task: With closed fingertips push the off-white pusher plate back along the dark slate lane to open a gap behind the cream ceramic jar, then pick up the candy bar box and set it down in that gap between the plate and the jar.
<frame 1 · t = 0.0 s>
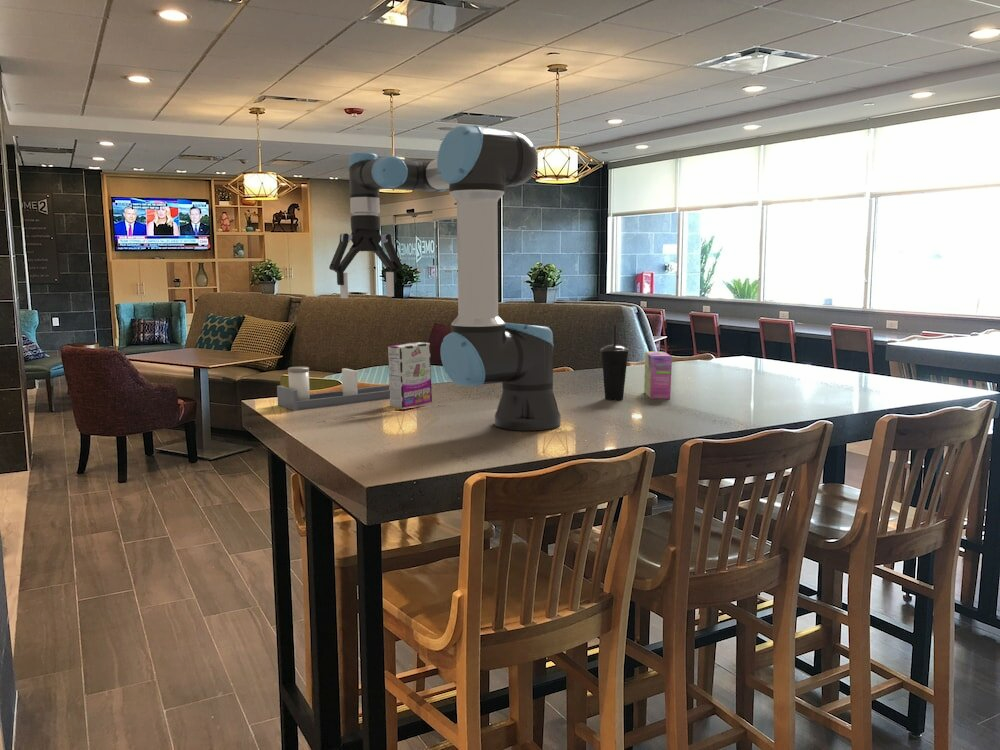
hand: (367, 297, 208), 28 cm above the table, fingers open, 13 cm apart
pusher: (354, 384, 210), point 5 cm above the table, slide at 0.0 cm
drinking cup: (614, 399, 215), on the table
box: (657, 396, 220), on the table
jar: (300, 406, 201), point 1 cm above the table, touching lane
lane: (324, 406, 206), on the table
candy bar box: (410, 408, 204), on the table
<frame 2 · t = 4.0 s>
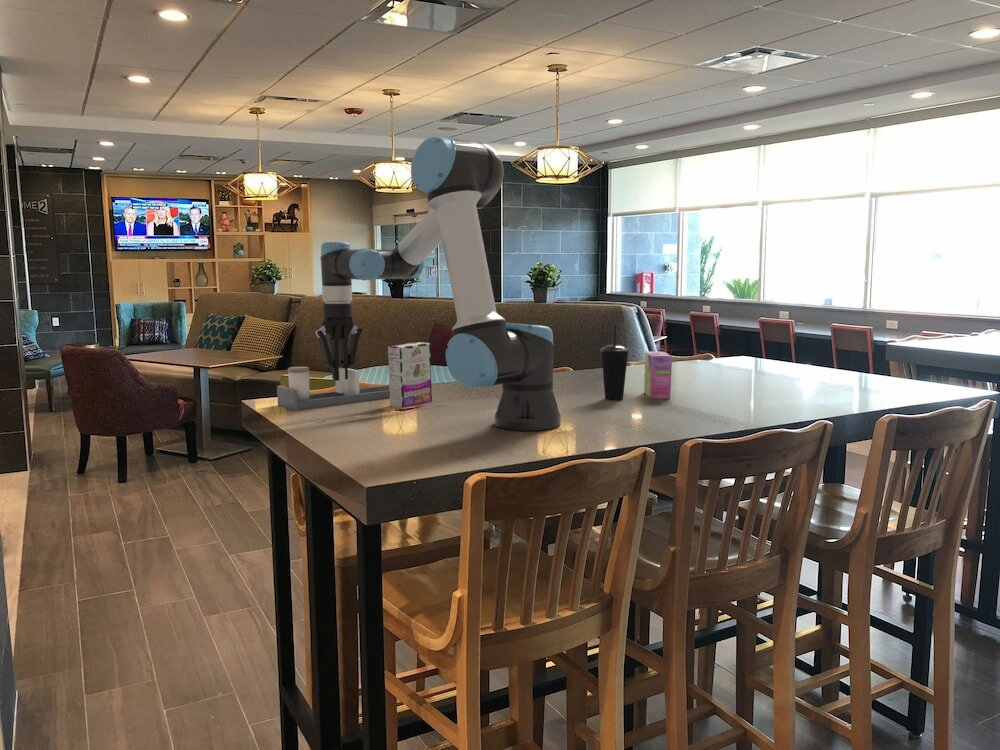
hand: (340, 392, 208), 3 cm above the table, fingers closed
pusher: (355, 383, 211), point 5 cm above the table, slide at 0.5 cm, touching gripper
everything else where it was.
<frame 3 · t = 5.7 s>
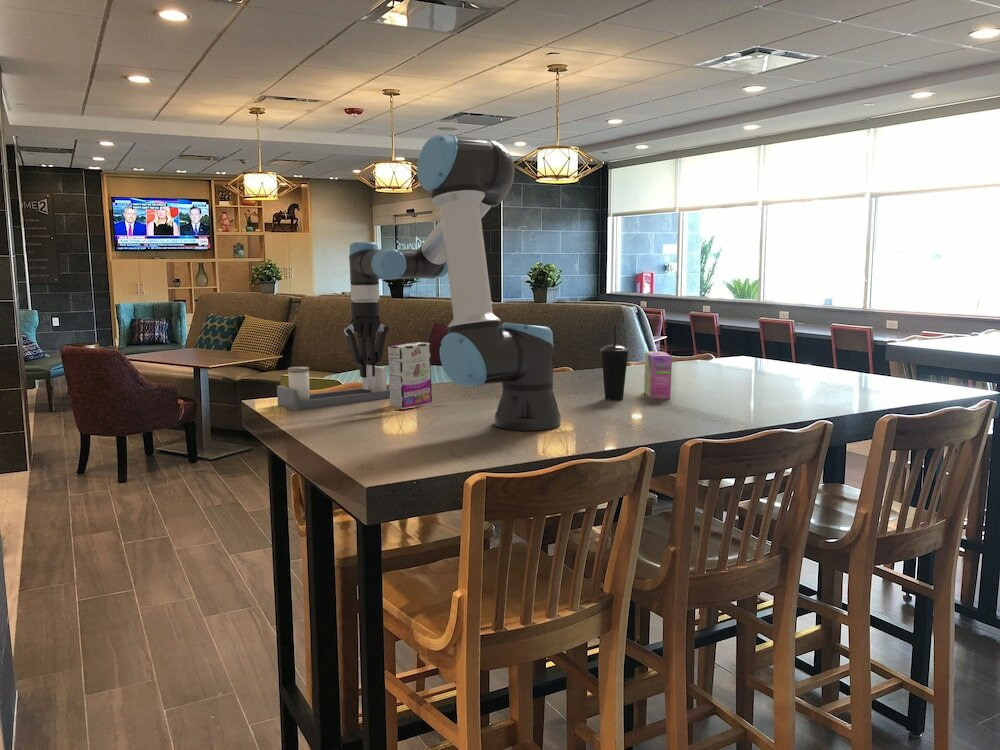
hand: (367, 389, 213), 3 cm above the table, fingers closed
pusher: (382, 381, 216), point 5 cm above the table, slide at 8.6 cm, touching gripper
everything else where it was.
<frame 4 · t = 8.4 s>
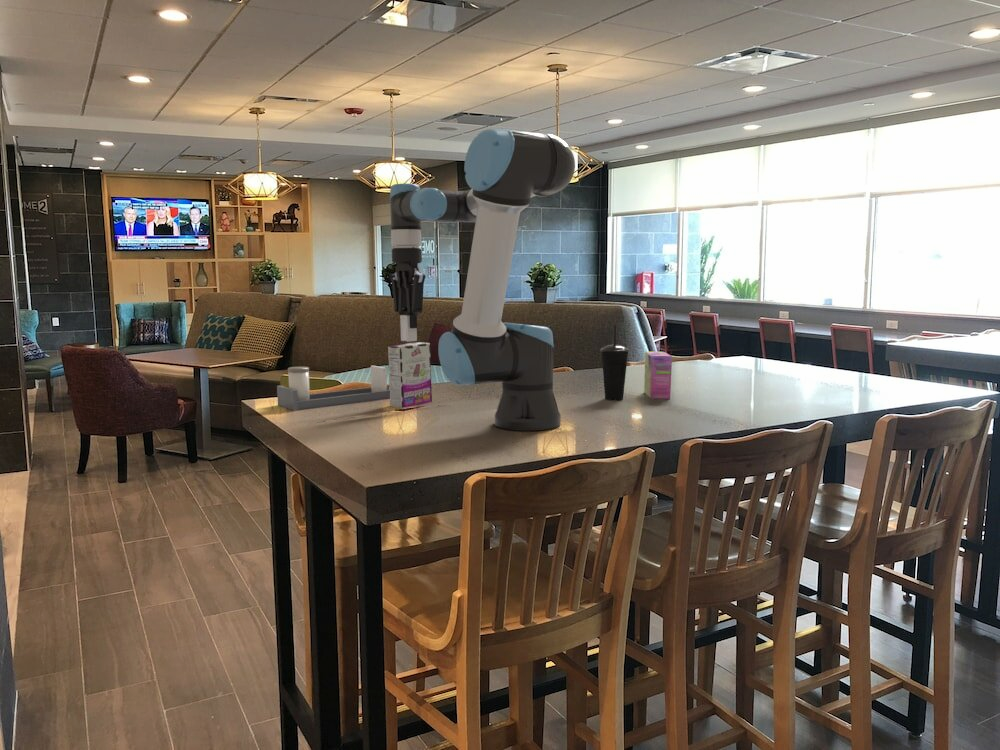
hand: (408, 340, 202), 17 cm above the table, fingers open, 2 cm apart
pusher: (382, 380, 216), point 5 cm above the table, slide at 8.7 cm
everything else where it was.
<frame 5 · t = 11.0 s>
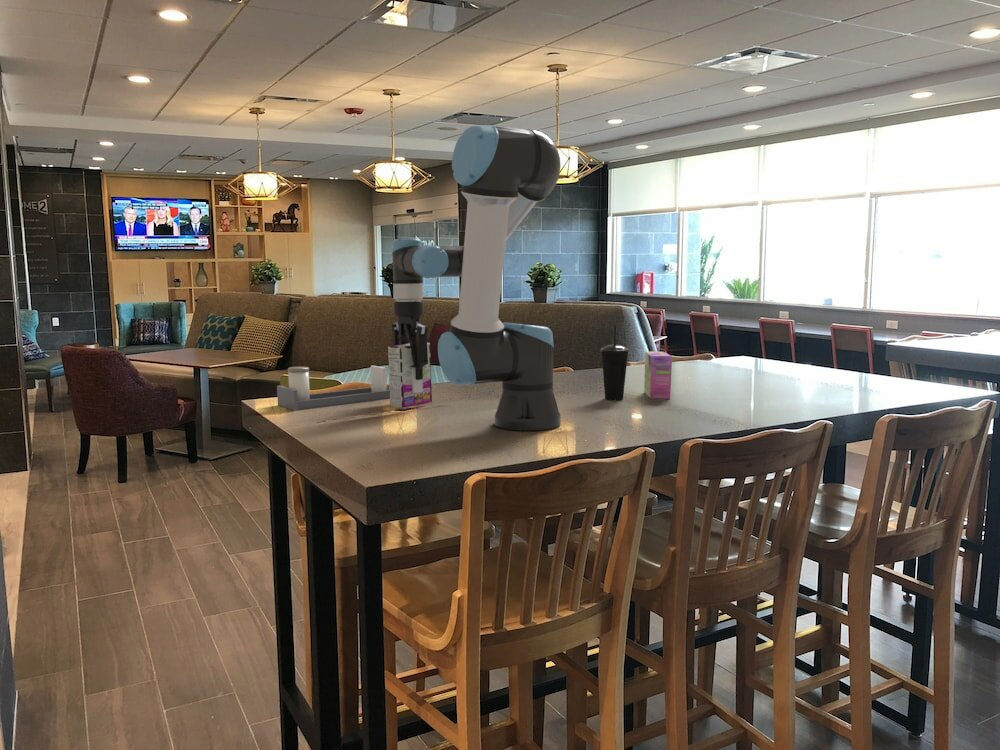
hand: (410, 390, 204), 4 cm above the table, fingers closed on candy bar box, 6 cm apart
candy bar box: (410, 408, 205), on the table, touching gripper
everything else where it was.
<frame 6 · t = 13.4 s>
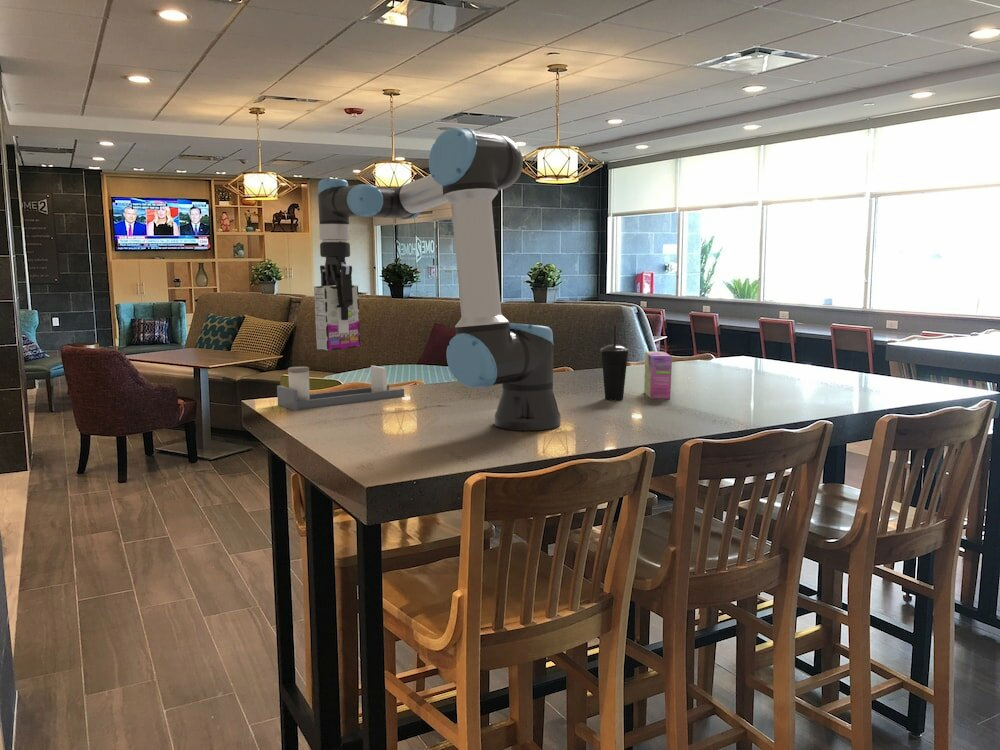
hand: (337, 331, 206), 19 cm above the table, fingers closed on candy bar box, 6 cm apart
candy bar box: (338, 349, 206), point 15 cm above the table, touching gripper
everything else where it was.
when the fingers open (7 cm above the table, at t = 16.0 s): candy bar box drops 1 cm, resting on lane.
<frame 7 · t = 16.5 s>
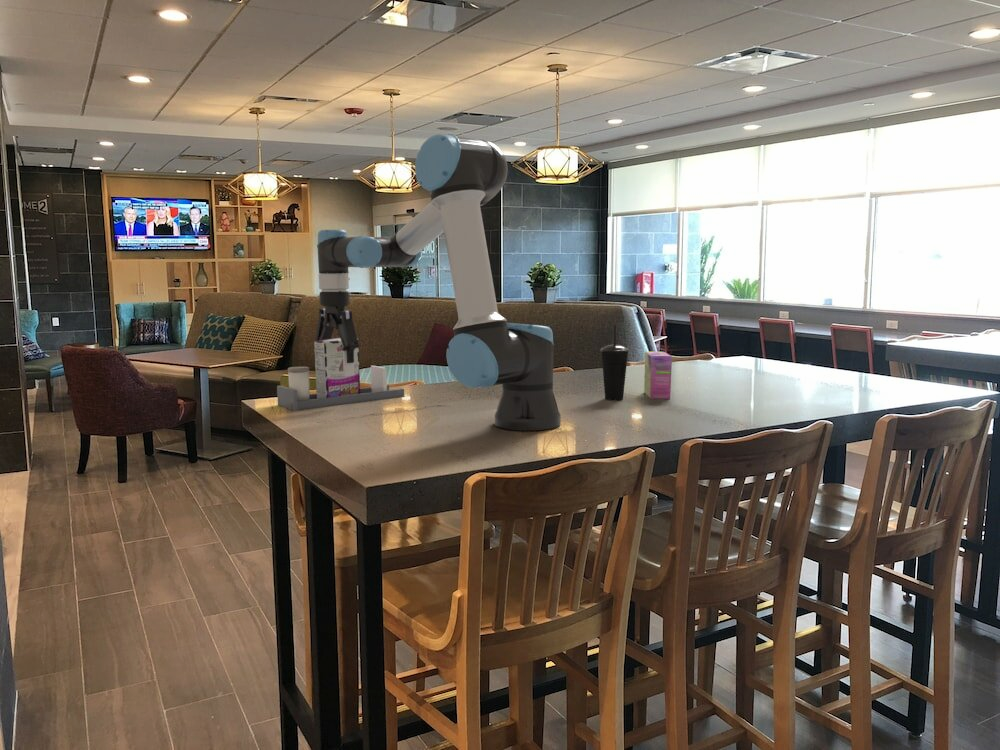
hand: (337, 373, 207), 9 cm above the table, fingers open, 12 cm apart
candy bar box: (338, 401, 208), point 1 cm above the table, touching lane
everything else where it was.
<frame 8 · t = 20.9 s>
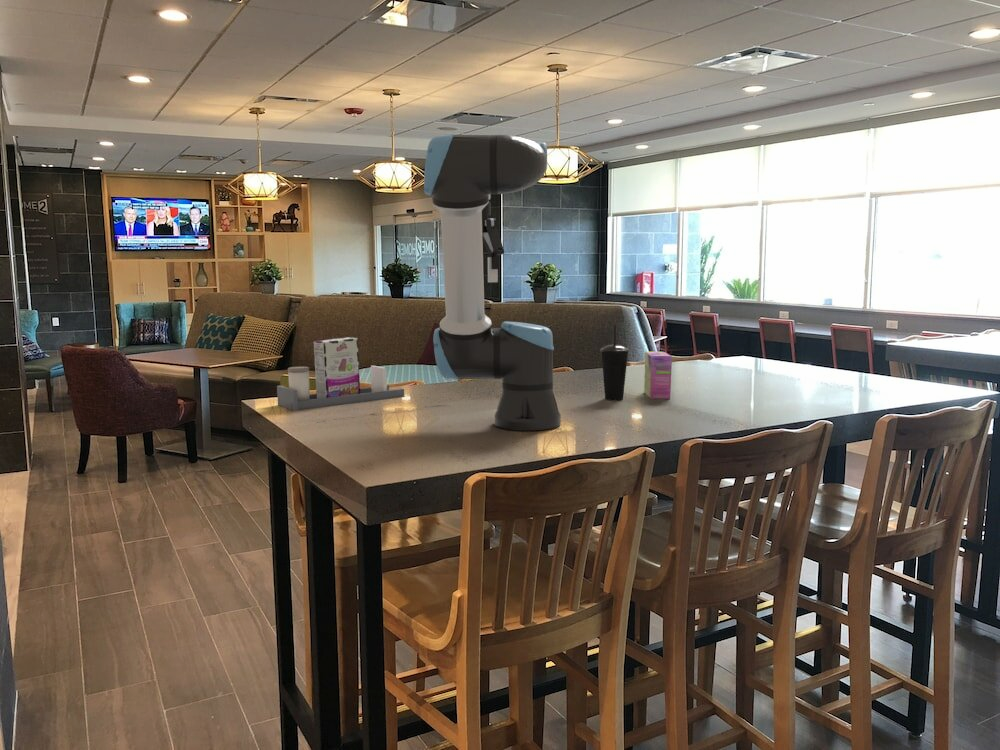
hand: (477, 282, 212), 32 cm above the table, fingers open, 13 cm apart
nothing on the table moved.
at the end: candy bar box inside the target area on the lane (1.5 cm from its centre), point 0.8 cm above the lane's base; candy bar box tilted 0°; pusher slide at 8.7 cm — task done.
